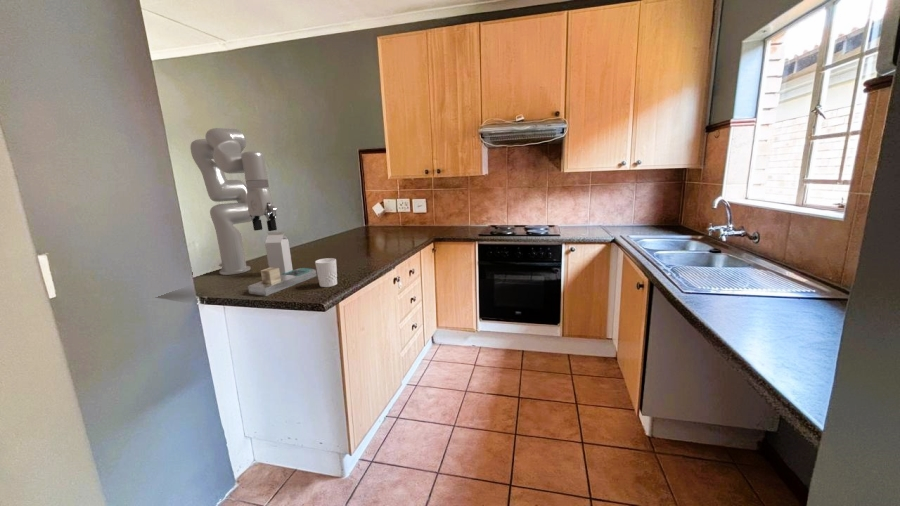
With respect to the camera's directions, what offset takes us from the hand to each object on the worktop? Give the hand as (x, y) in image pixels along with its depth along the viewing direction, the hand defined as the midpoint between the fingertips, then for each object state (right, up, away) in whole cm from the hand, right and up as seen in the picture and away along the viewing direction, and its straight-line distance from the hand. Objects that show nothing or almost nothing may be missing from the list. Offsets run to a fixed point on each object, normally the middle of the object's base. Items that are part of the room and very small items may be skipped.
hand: (265, 230), depth 140 cm
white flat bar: (+4, -22, +7) cm, 23 cm away
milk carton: (-5, -18, +24) cm, 30 cm away
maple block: (+2, -23, +2) cm, 23 cm away
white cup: (+23, -22, +5) cm, 32 cm away
